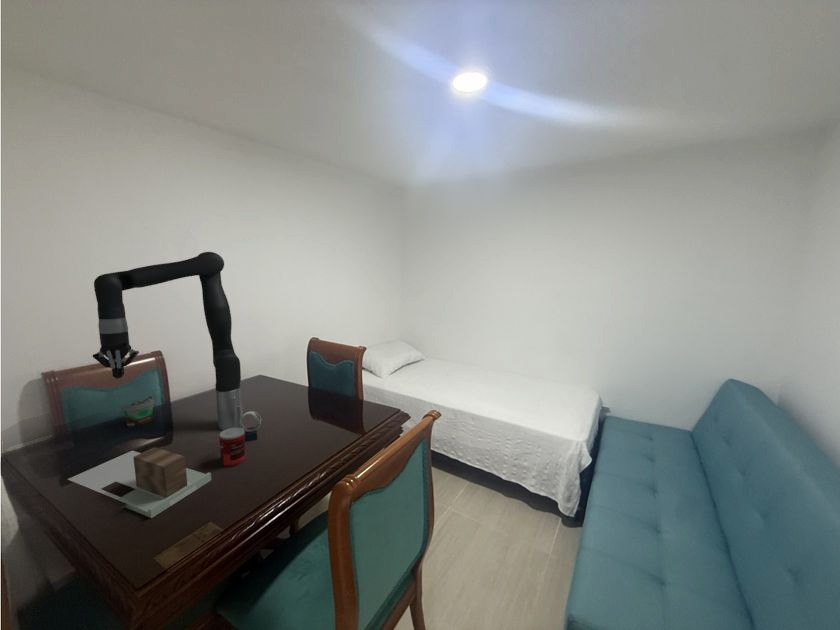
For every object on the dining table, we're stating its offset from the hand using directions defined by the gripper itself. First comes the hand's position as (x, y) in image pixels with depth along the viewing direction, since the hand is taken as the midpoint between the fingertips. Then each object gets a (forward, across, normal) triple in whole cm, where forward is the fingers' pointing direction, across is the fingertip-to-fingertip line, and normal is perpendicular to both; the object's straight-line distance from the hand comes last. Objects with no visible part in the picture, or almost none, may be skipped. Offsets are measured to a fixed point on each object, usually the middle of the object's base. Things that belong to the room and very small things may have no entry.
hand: (119, 377), depth 120 cm
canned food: (+29, +38, -18) cm, 51 cm away
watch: (+29, +42, -2) cm, 51 cm away
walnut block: (+28, +20, -29) cm, 45 cm away
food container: (+29, -4, +26) cm, 39 cm away
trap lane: (+29, +12, -22) cm, 38 cm away
